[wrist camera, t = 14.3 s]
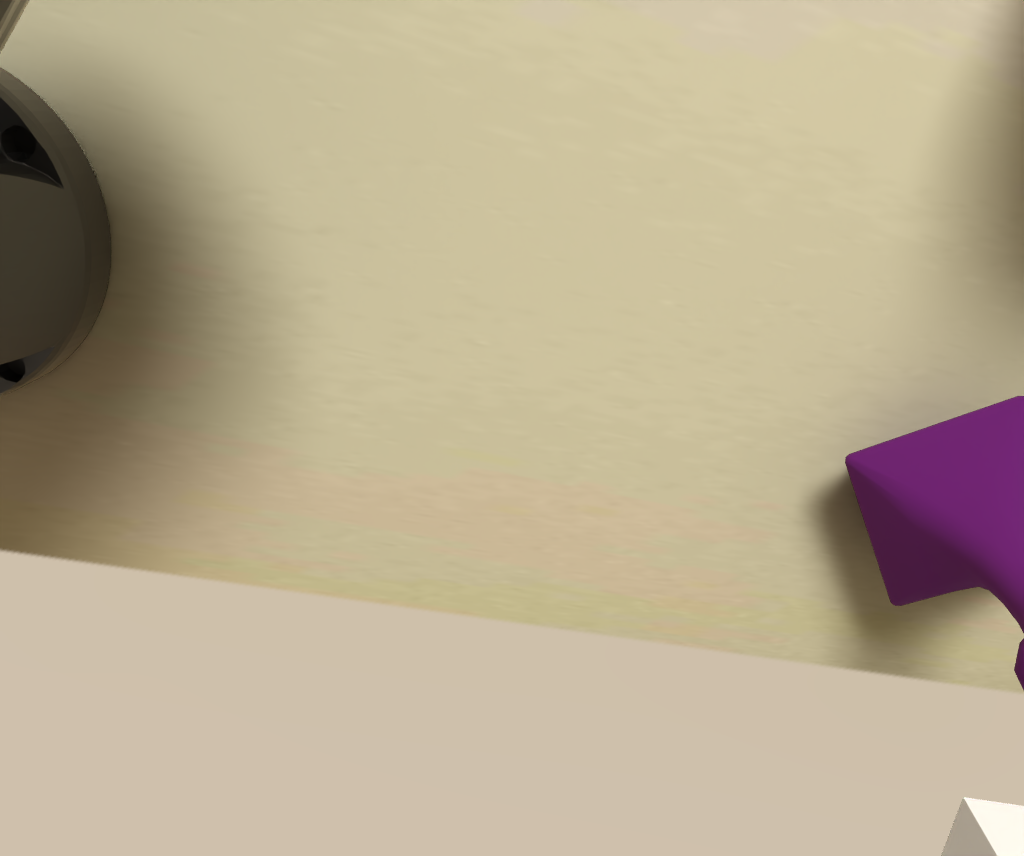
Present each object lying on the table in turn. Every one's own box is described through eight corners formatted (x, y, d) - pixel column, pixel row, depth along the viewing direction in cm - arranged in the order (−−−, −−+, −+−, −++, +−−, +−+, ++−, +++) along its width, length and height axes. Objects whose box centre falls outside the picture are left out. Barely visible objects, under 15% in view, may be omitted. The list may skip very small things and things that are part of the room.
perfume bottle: (1033, 520, 44) (1328, 788, 27) (870, 572, 45) (1053, 860, 28) (993, 372, 42) (1286, 561, 25) (823, 431, 43) (991, 650, 26)
